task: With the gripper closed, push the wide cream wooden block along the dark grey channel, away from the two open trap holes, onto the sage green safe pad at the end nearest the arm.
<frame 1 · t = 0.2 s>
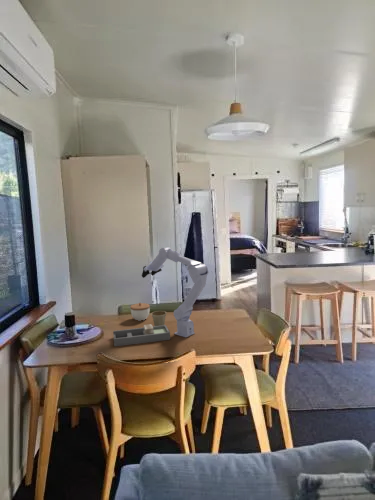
hand: (147, 275, 218), 31 cm above the table, tool tilted 45°, fingers open, 7 cm apart
safe pad: (160, 336, 201), resting in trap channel
lidded bowl: (140, 319, 233), on the table
cream block: (148, 333, 199), point 2 cm above the table, touching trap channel
flower pot: (159, 327, 217), on the table
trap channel: (141, 338, 198), on the table
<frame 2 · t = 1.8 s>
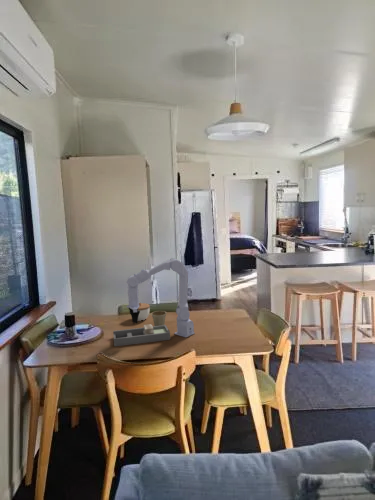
hand: (134, 321, 196), 10 cm above the table, tool pointing down, fingers open, 5 cm apart
nothing on the table moved.
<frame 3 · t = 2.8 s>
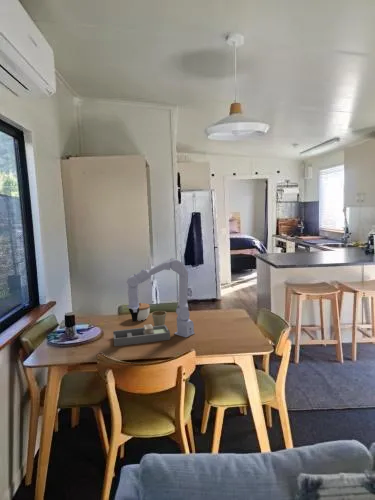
hand: (134, 321, 196), 10 cm above the table, tool pointing down, fingers closed
nothing on the table moved.
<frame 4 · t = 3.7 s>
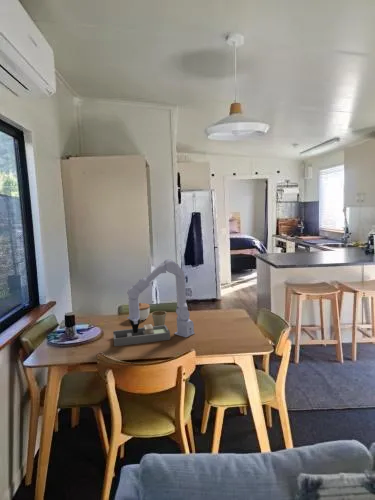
hand: (135, 332, 197), 4 cm above the table, tool pointing down, fingers closed
nothing on the table moved.
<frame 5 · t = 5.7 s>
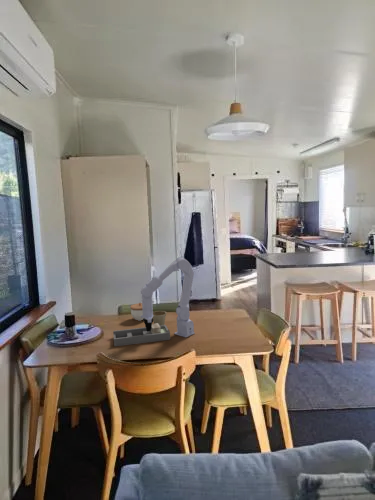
hand: (148, 331, 199), 4 cm above the table, tool pointing down, fingers closed, pressing on cream block
cream block: (155, 332, 200), point 3 cm above the table, touching gripper
everything else where it was.
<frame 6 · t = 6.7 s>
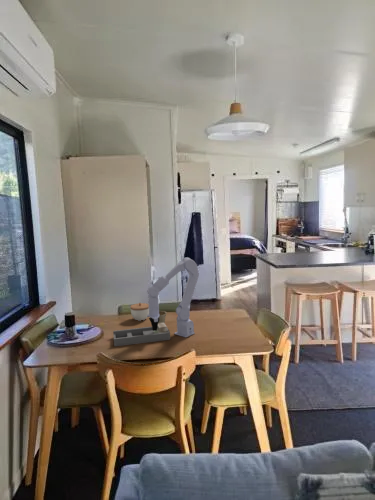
hand: (154, 330, 200), 4 cm above the table, tool pointing down, fingers closed
cream block: (161, 331, 201), point 3 cm above the table, touching gripper, safe pad
everything else where it was.
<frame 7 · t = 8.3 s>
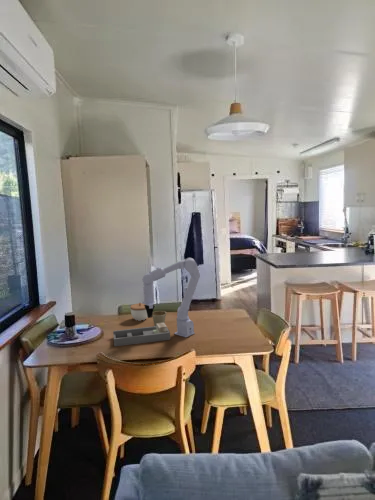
hand: (149, 317, 202), 10 cm above the table, tool pointing down, fingers closed
cream block: (161, 331, 201), point 2 cm above the table, touching safe pad
everything else where it was.
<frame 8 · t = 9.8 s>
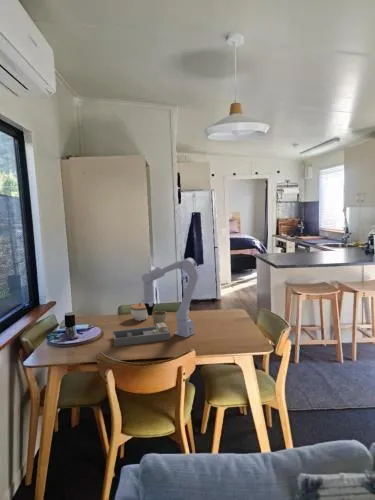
hand: (149, 315, 206), 10 cm above the table, tool pointing down, fingers closed
nothing on the table moved.
at the end: cream block 1.0 cm from the safe pad (horizontally); cream block point 2.5 cm above the table; cream block tilted 0° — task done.
